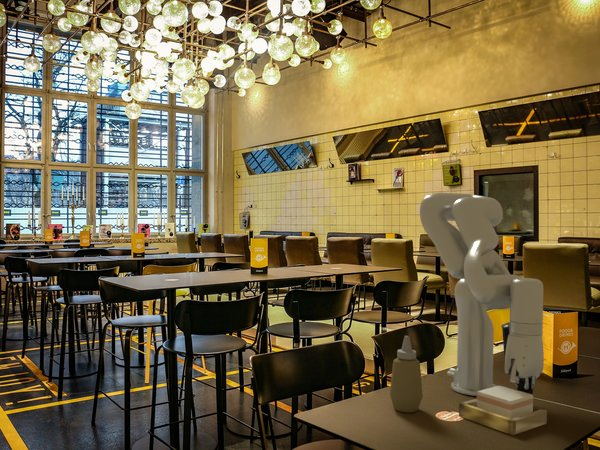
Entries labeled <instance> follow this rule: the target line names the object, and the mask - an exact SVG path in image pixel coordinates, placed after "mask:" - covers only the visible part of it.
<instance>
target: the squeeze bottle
mask: <svg viewBox="0 0 600 450" xmlns="http://www.w3.org/2000/svg"><path fill="white" fill-rule="evenodd" d="M396 353H397V354H396V355H397V357H396V358H394V359H393V362H392V371H391V380H390V389H389V396H390V400H391V403H392V406H393V409H394V410H396V411H399V412H402V413H415V412H417V411H418V410H419V407H420V405H421V403H422V400H423V386H422V385H423V384H422V372H421V362H420V361H419V360H418V359H417V351H416V350H415V349H413V348H412V342H411V337H410V335H404V338H403V341H402V346H401V348H400V349H397V351H396Z"/></svg>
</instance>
